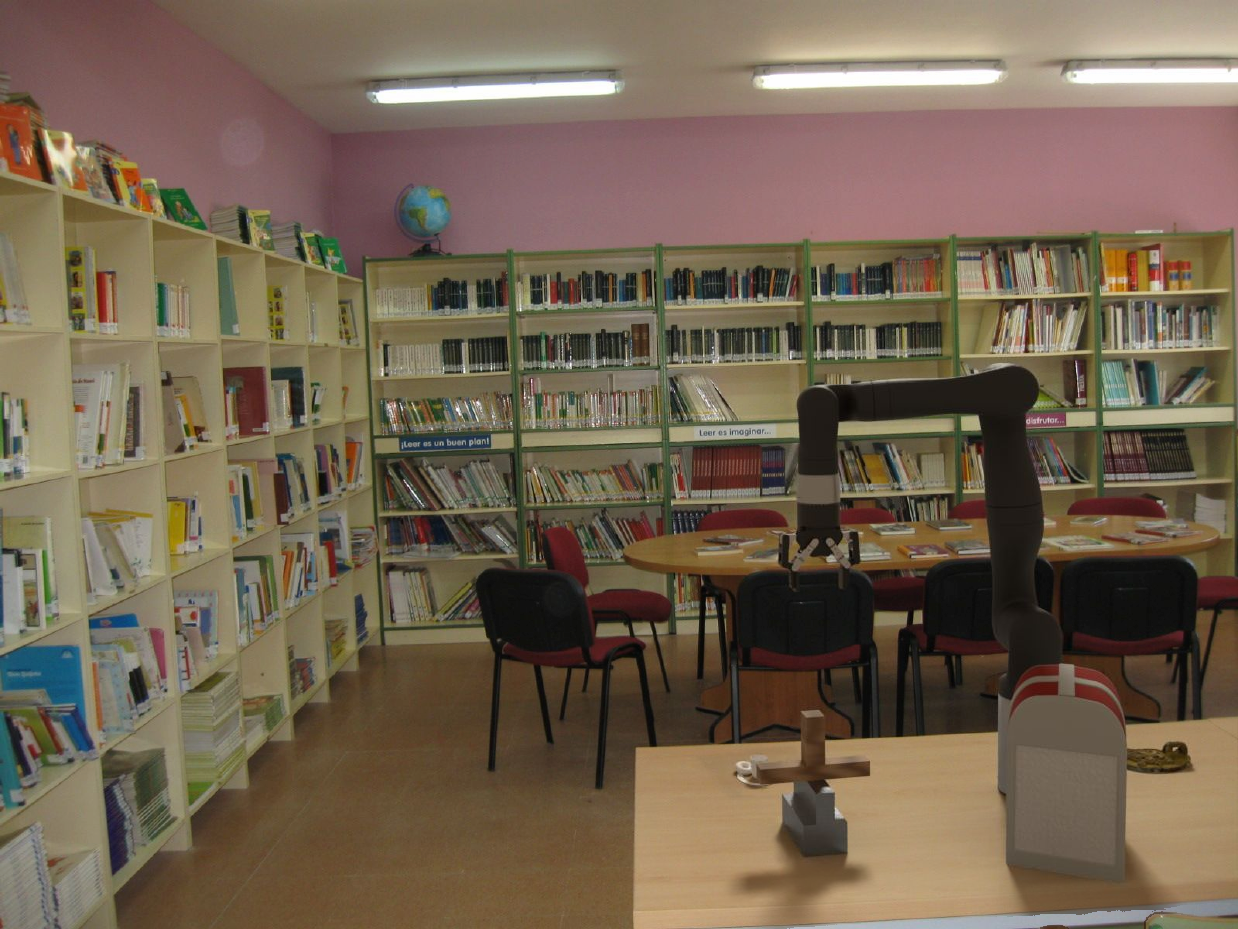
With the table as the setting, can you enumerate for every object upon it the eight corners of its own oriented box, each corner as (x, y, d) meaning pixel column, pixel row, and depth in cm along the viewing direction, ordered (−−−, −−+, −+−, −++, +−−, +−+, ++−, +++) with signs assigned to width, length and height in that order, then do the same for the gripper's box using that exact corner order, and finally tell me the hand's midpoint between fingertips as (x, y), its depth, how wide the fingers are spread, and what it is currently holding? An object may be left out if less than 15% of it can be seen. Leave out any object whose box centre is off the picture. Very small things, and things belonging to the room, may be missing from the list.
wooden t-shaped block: (863, 769, 163) (863, 706, 162) (870, 776, 160) (870, 713, 159) (756, 778, 161) (755, 714, 160) (761, 785, 158) (760, 721, 157)
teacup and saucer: (729, 771, 189) (729, 751, 189) (768, 766, 191) (768, 746, 191) (746, 790, 181) (745, 768, 180) (787, 785, 183) (786, 763, 182)
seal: (1121, 781, 183) (1203, 777, 183) (1123, 757, 182) (1205, 753, 182) (1096, 755, 192) (1174, 752, 192) (1098, 733, 191) (1176, 729, 191)
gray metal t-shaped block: (782, 822, 167) (781, 764, 166) (823, 819, 168) (822, 761, 167) (804, 857, 155) (803, 794, 154) (847, 853, 156) (847, 791, 155)
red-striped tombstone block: (1003, 863, 151) (1005, 690, 149) (1010, 815, 167) (1011, 657, 165) (1126, 884, 144) (1130, 702, 142) (1120, 831, 160) (1124, 667, 158)
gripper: (784, 503, 171) (786, 596, 173) (865, 500, 173) (865, 592, 174) (773, 498, 179) (774, 587, 180) (850, 494, 180) (850, 583, 182)
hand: (819, 589), depth 177 cm, fingers open, 8 cm apart
